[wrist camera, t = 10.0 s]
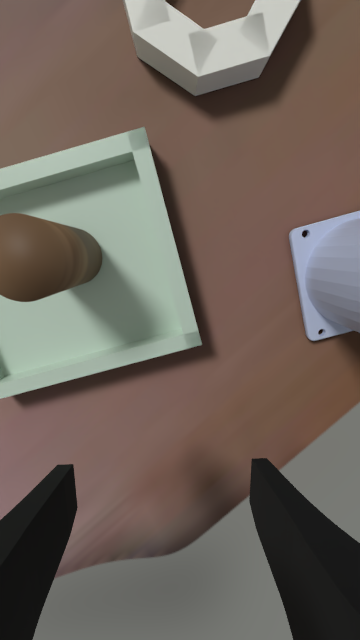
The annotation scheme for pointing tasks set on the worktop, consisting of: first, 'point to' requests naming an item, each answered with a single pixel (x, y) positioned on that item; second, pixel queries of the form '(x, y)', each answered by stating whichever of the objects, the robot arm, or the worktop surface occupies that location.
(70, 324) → the tray
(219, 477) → the worktop surface
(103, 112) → the worktop surface
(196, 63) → the white octagonal ring
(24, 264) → the dowel pin
